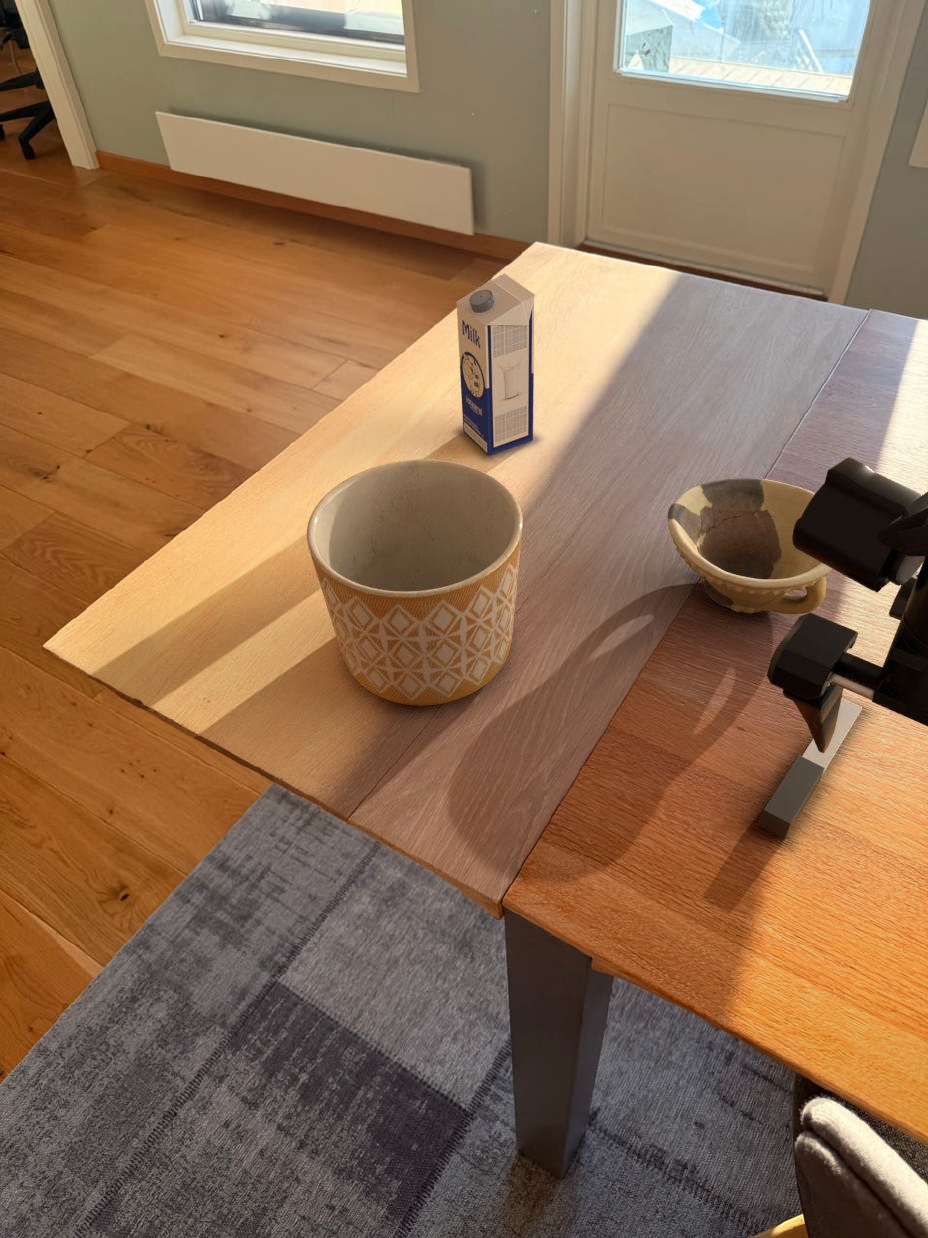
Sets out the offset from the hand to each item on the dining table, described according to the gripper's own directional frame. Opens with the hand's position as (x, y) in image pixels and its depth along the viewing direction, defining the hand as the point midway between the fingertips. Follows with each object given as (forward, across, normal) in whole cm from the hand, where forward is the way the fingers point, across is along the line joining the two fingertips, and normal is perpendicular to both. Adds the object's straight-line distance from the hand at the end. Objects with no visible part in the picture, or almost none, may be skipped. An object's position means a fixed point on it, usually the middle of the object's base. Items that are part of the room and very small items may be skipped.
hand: (885, 778), depth 65 cm
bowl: (+11, +21, -24) cm, 34 cm away
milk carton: (+10, +60, -33) cm, 70 cm away
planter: (+11, +43, +2) cm, 44 cm away
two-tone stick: (+11, +6, -7) cm, 15 cm away
